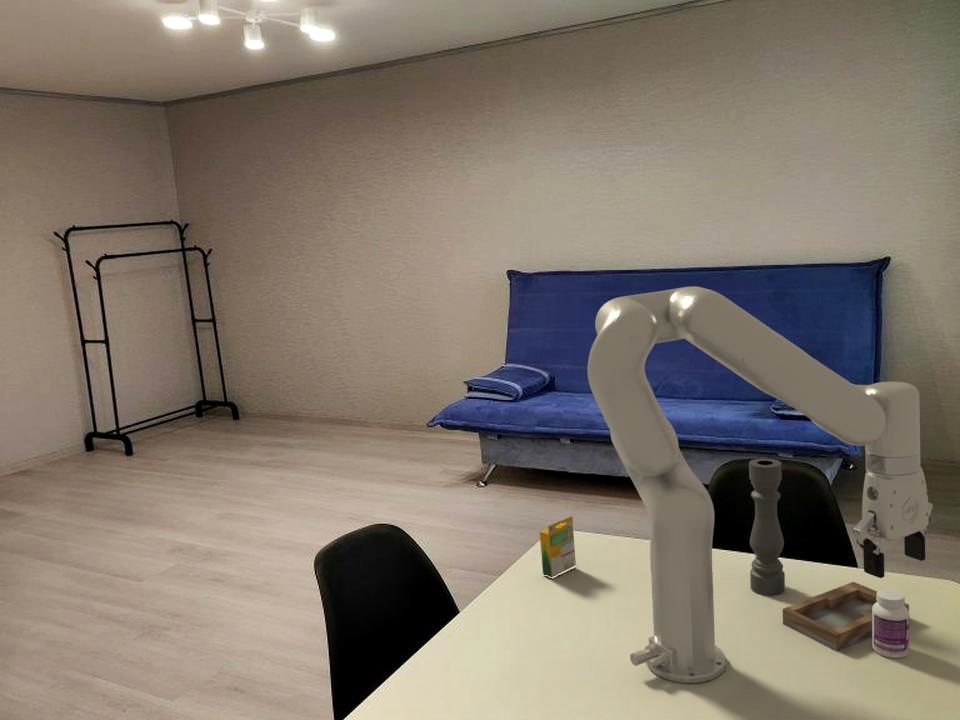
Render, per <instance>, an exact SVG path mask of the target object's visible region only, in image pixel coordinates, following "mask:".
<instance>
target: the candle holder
mask: <svg viewBox="0 0 960 720" xmlns="http://www.w3.org/2000/svg"><path fill="white" fill-rule="evenodd" d="M748 472H749V473H748V474H749V475H748V477H749V480H750V484H751V485H752V487H753V489H754V490H752V492H751V494H750V496H751V498H752V499H753V501H754V511H755V513H754V514H755V516H754V520H753V524H752V529H751V533H750V537H749V545H750V548H751V549H752V551H753V552H754V556H755V558H754V559H753V560H752V562H751V569H750V572H749V573H750V574H749V575H750V576H749V577H750V579H749V580H750V581H749V582H750V589H751V591H752V592H753V593H754V594H755V593H756V594H757V595H761V596H766V597H775V596H781V595H782V594H784V593H785V592H786V591H785V590H786V585H785V584H786V577H785V576H786V575H785V572H784V570H783V569H784V564H783V563H782V561H780V559H779V558H780V554H781V553H782V552H783V550H784V546H785V539H784V536H783V533H782V530H781V526H780V522H779V517H778V500H780V499H781V493H780V492H779V491H778V490H779V489H778V488H779V486H780V485H781V481H782V462H781V461H780V460H777V459H774V458H765V457H764V458H762V457H761V458H755V459H751V460H750V461H749V462H748Z"/></svg>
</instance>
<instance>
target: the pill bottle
mask: <svg viewBox="0 0 960 720" xmlns="http://www.w3.org/2000/svg"><path fill="white" fill-rule="evenodd" d="M905 597H906V596H905V595H904V594H903V593H902V592H901V591H899V590H897V589H896V590H895V589H890V588H889V589H888V588H884V589H879V590H877V597H876V600H877V602H876V603H875V604H874V605H873V607H872V636H871V647H872V649H873V651H874V652H875V653H877V654H878V655H880V656H882V657H886V658H892V659H901V658H905V657H906V656H907V655H908V654H909V652H910V610H909V611H908V609H907V608H906V607H905V606H904V604H905V603H906V601H905V600H906V599H905Z"/></svg>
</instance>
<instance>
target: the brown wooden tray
mask: <svg viewBox="0 0 960 720" xmlns="http://www.w3.org/2000/svg"><path fill="white" fill-rule="evenodd" d="M877 592H878V590H874V589H873V588H870V587H867V586H865V585H863V584H860V583H857V582H855V581H851V582H848V583H847V584H844V585H842V586H838V587H836V588H833V589H831V590H828V591H826V592H822V593H820V594H818V595H814V596H812V597H810V598H807V599H804V600H801V601H800V602H797V603H795V604H791V605H789V606H786V607H783V608H782V625H784V626H787V627H788V628H791V629H792V630H794V631H796V632H799V634H802V635H804V636H806V637H808V638H810V639H812V640H813V641H816V642H818V643H820V644H822V645H824V646H825V647H827V648H829V649H831V650H833V651H836V652H837V651H841V650H842V649H845V648H847V647H849V646H852V645H854V644H857V643H858V642H861V641H863V640H865V639H867V638H870V637H872V607H873V605H874V604H875V603H876V602H877V600H876V597H877ZM904 606H905V607H906V608H907V609H908V611H909V612H910V604H909V603H907V602H905V604H904Z"/></svg>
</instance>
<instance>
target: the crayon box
mask: <svg viewBox="0 0 960 720" xmlns="http://www.w3.org/2000/svg"><path fill="white" fill-rule="evenodd" d="M573 519H574V517H573V515H572V516H570V517H567V518H564V519H562V520H559V521H557V522H554V523H552V524H550V525H548V527H547V528H545V529H543V530H541V531H539V541H540V553H541V566H542V575H543V574H544V575H548V576H550V577H553V576H556V575H557V574H559V573H561V572H563V571H565V570H567V569H569V568H571V567H573V566H575V565H576V566H577V563H576V562H577V561H576V551H575V549H576V547H575V537H574V523H573V521H574V520H573Z"/></svg>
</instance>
